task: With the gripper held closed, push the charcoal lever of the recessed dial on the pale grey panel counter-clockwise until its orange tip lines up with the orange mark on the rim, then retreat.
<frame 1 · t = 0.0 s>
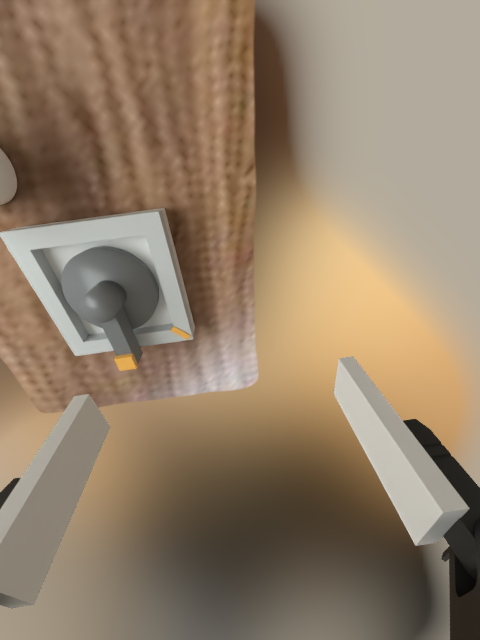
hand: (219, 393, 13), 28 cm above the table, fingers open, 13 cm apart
dial panel: (120, 283, 38), on the table
dial: (113, 311, 34), point 5 cm above the table, hinge at 0.0°
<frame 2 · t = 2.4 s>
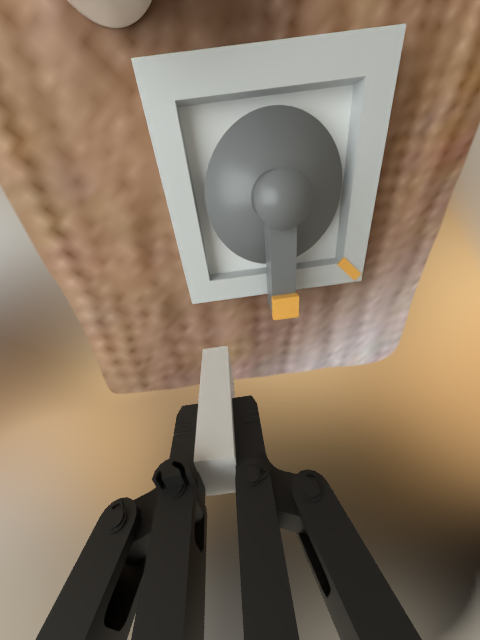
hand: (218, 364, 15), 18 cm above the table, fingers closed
dial panel: (266, 193, 25), on the table
dial: (277, 224, 22), point 5 cm above the table, hinge at 0.0°
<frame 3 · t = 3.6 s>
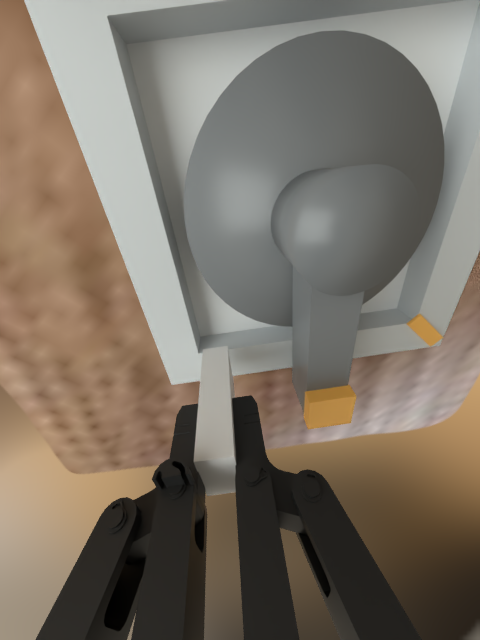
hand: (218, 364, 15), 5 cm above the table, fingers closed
dial panel: (291, 210, 15), on the table
dial: (319, 270, 12), point 5 cm above the table, hinge at 0.0°
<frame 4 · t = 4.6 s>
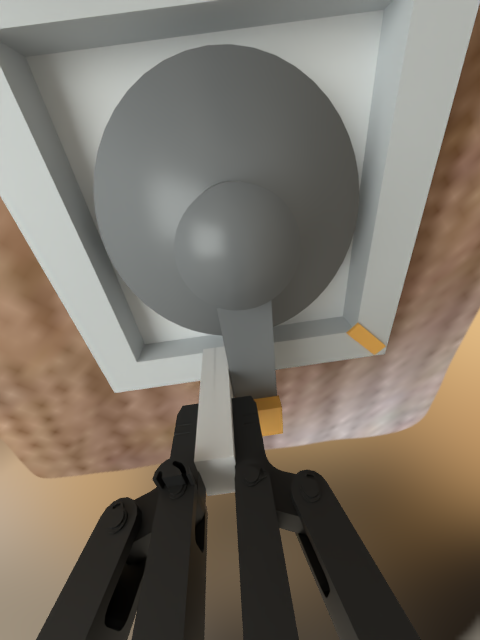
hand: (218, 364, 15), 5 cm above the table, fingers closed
dial panel: (229, 219, 15), on the table
dial: (239, 281, 12), point 5 cm above the table, hinge at 0.4°, touching gripper
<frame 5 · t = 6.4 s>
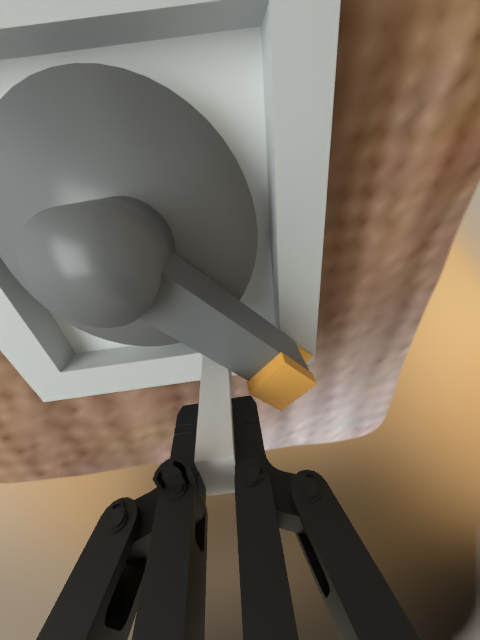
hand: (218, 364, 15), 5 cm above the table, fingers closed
dial panel: (150, 229, 15), on the table
dial: (165, 280, 12), point 5 cm above the table, hinge at 42.9°, touching gripper
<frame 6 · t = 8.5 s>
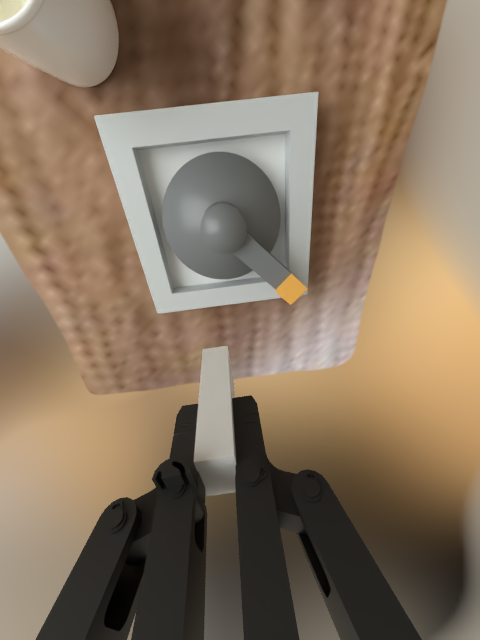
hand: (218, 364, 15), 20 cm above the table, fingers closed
dial panel: (222, 218, 29), on the table
candle holder: (70, 24, 20), on the table
dial: (239, 239, 26), point 5 cm above the table, hinge at 43.1°
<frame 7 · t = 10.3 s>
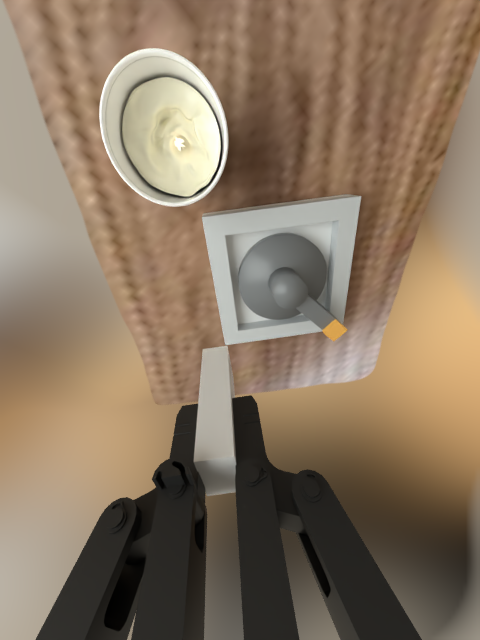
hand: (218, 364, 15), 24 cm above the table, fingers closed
dial panel: (277, 272, 38), on the table
candle holder: (184, 152, 29), on the table
dial: (295, 294, 34), point 5 cm above the table, hinge at 43.1°
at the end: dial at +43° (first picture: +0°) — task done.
